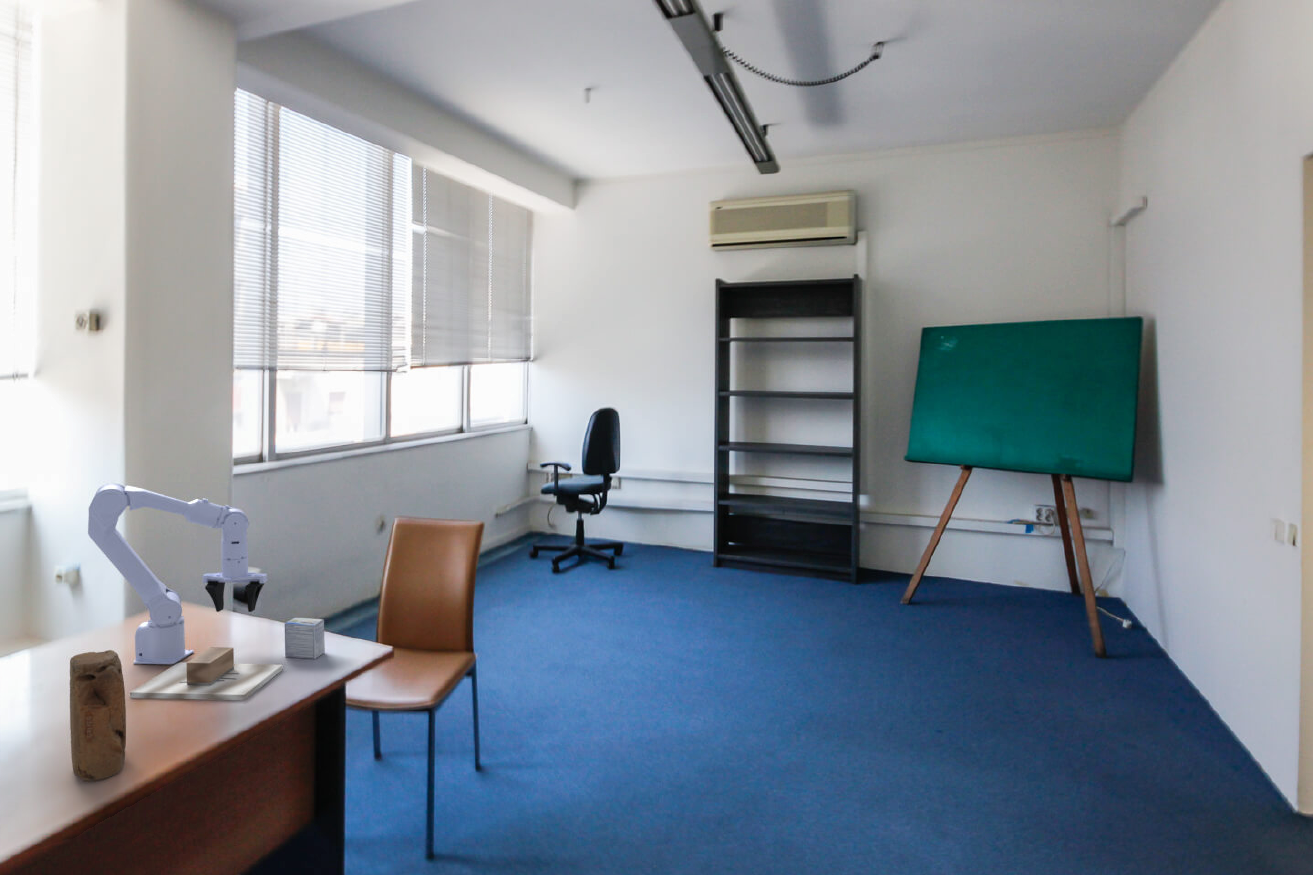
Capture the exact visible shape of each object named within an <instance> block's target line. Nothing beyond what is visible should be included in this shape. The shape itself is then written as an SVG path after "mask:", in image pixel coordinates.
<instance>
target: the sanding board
mask: <svg viewBox="0 0 1313 875" xmlns="http://www.w3.org/2000/svg"><path fill="white" fill-rule="evenodd" d="M186 663H187V661H186V662H185V661H184V662H183V661H182V662H179V661H178V662H176V663H175V664H173V665H172V666H170V667H169V668H168V669H165V670H163V672H161V673H158V675H156V676H154V677H152V678H151V679H149V680H147V681H146V682H144V683H142V684H141V685H139V686H137V687H136V688H135V689H133V690H131V691H129V698H131V699H161V700H162V699H166V700H167V699H169V700H170V699H171V700H210V701H211V700H212V701H213V700H215V701H246V700H247V699H248V698H249V697H251V695H253V694H255V692H257V691H258V690H259V689H260V688H262V687H263V686H264V685H265V684H267V683H268V682H269V681H270V680H272V679H273V678H274V677H275V676H277V675H279V673H281V671H283V668H284V667H283V665H284V664H269V663H267V664H266V663H265V664H263V663H259V664H258V663H234V669H233V670H232V671H230V672H229V673H227V674H226V675H225V676H223V677H222V678H220V679H219V680H217V681H216V682H215V683H213V684H212V685H210V686H206V685H187V665H186ZM276 674H277V675H276Z"/></svg>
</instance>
